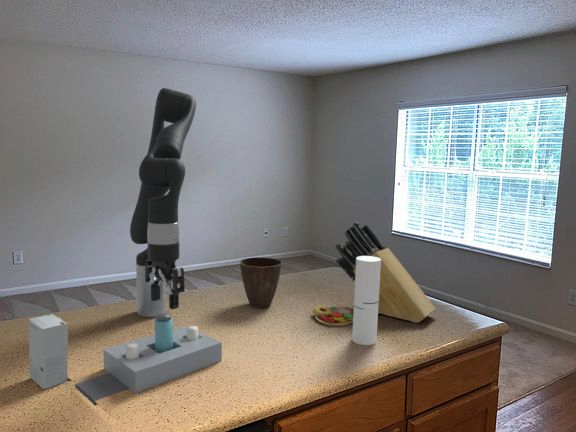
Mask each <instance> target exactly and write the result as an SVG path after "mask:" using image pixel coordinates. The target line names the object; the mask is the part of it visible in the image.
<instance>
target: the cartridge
mask: <svg viewBox="0 0 576 432" xmlns="http://www.w3.org/2000/svg"><path fill="white" fill-rule="evenodd" d="M173 329H174V318H173V316H172V314H171V313H169V312H165V313H160V314H157V315H156V317H155V318H154V335H155V351H156V352H158V353H159V354H160V353H163V352H166V351H169V350H172V349H173Z"/></svg>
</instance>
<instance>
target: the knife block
mask: <svg viewBox="0 0 576 432" xmlns="http://www.w3.org/2000/svg"><path fill="white" fill-rule="evenodd" d="M343 233H344V234H345V235H344V236H345V237H346V238H347V240H346V241H345V244H344V245H343V246H342V245H341V243H336V244H335V249H336V250H337V252H338V253H339V254H340V256H341V257H339V258H336V260H335V261H336V263H337V264H338V265H339V266H340V267H341V268H342V270H343V271H344V272H345V273H346V274H347V276H348V277H349V278H350V279H351V280H352V281H353V282H355V272H356V257H359V256H373V257H378V258H380V259H381V269H380V287H379V304H378V314H381V315H385V316H389V317H392V318H393V317H394V318H398V319H401V320H405V321H409V322H411V323H420V322H422V321H423V320H425V319H426V317H428V316H429V315H431V314H432V313H434V311H436V310H437V309H436V307H435V305H433V304H432V302H431V300H430V299H429V298H428V297H427V296H426V294H425V293H424V291H423V290H422V289H421V288H420V286H419V285H418V284H417V283H416V281H415V280H414V279H413V277H412V276H411V275H410V273H409V272H408V271H407V269H406V268H405V267H404V266H403V264H402V262H400V260H399V259H398V258H397V257H396V256H395V254H394V253H393V252H392V251H391V249H390V248H389V247H386V246H383V245H382V244H381V242H380V241H379V239H378V237H377V236H376V234H375V233H374V232H373V230H372V229H371V228H370V227H369V226H368V225H367V224H366V225H364V226H362V227H361V226H360V224H359V222H357V221H354V222H353V223H352V226H349V227H348V229H345V230H344V231H343Z"/></svg>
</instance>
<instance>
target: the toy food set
mask: <svg viewBox="0 0 576 432" xmlns="http://www.w3.org/2000/svg"><path fill="white" fill-rule="evenodd" d="M312 314H314V318H315V319H316V320H317V322H318V323H320V324H322V325H325V326H331V327H344V326H347V325H350V324H351V323H353V311H352V310H351V309H349V308H339V307H337V306H335V307H330V308H329V307H327V306H324V305H317V306H315V307H313V309H312Z"/></svg>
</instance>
